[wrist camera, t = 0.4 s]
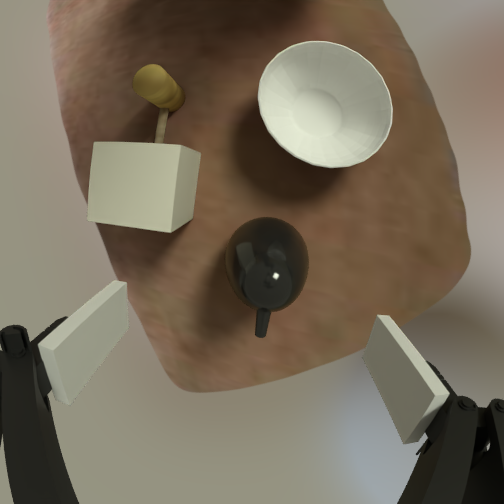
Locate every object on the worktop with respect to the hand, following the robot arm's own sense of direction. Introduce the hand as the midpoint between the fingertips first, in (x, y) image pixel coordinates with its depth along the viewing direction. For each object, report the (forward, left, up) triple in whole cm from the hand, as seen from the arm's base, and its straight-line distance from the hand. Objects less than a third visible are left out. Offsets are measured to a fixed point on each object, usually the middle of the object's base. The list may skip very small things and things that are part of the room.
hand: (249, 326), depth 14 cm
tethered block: (-10, -14, -26) cm, 31 cm away
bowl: (-17, +6, -26) cm, 32 cm away
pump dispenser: (+3, +2, -26) cm, 26 cm away
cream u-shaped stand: (-5, -14, -26) cm, 30 cm away
